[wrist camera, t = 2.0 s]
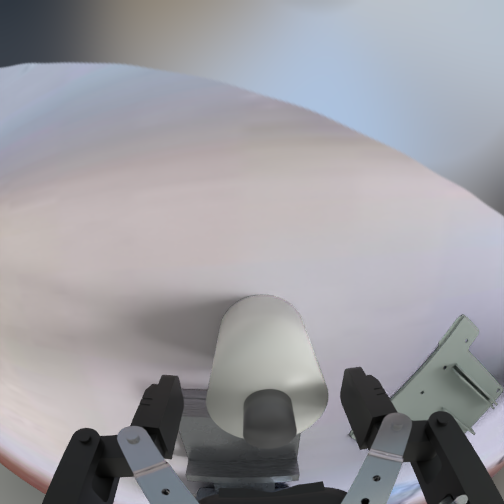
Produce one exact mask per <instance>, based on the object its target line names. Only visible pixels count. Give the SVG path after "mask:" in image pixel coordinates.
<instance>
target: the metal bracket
mask: <svg viewBox="0 0 504 504" xmlns="http://www.w3.org/2000/svg"><path fill="white" fill-rule="evenodd" d="M478 334H479V329H478V328H477V327H476V326H475V325H474V324H473V323H472V322H471V321H470V320H469V319H468V317H466V316H465V315H464V314H463V315H461V316H460V317H458V318H457V319H456V321H455V322H454V323H453V325H452V326H451V327H450V329H449V330H448V331H447V333H446V334H445V335H444V336H443V338H442V339H441V340H440V341H439V346H438V348H437V349H436V350H435V351H434V353H433V354H432V355H431V356H430V357H429V358H428V360H427V361H426V362H425V363H424V364H423V365H422V366H421V368H420V369H419V370H418V371H417V372H416V373H415V374H414V375H413V376H412V377H411V378H410V379H409V381H408V382H407V383H406V384H405V385H404V386H403V387H402V388H401V389H400V390H399V391H398V392H397V393H396V394H395V395H394V396H393V397H392V398H391V399H390V400H391V402H392V403H393V405H394V407H395V408H396V410H397V412H398V413H403V414H405V415H407V416H408V417H409V418H410V419H411V420H413V421H417V420H428V419H429V417H430V415H431V414H432V413H434V412H437V411H445V412H448V413H450V414H451V415H452V416H453V417H454V419H455V420H456V422H457V423H458V425H459V426H460V428H461V429H462V431H463V432H464V434H465V433H466V432H467V431H469V432H471V433H472V434H473V435H475V432H474V431H473V429H472V428H471V427H472V426H473V425H474V424H475V423H476V421H477V420H478V419H479V418H480V417H481V416H482V415H483V414H484V413H485V412H486V411H487V410H488V408H489V407H490V406H491V408H492V409H494V407H493V405H492V404H493V403H494V404H495V405H496V406H497V405H498V404H497V403H496V402H495V400H496V399H497V398H498V397H499V395H500V394H501V393H502V392H503V387H502V386H501V385H500V384H499V383H498V382H497V381H496V380H495V378H494V377H493V376H492V375H491V374H490V373H489V372H488V371H487V370H486V369H485V368H484V367H483V365H482V364H481V363H480V362H479V361H478V360H477V359H476V358H475V357H474V356H473V355H472V354H471V353H470V352H469V347H470V345H471V344H472V342H473V341H474V340H475V338H476V337H477V336H478ZM466 339H467V341H466V342H465V340H466ZM444 366H446V368H445V369H443V368H444ZM497 389H499V390H498V391H497ZM422 391H424V392H423V393H421V392H422ZM496 391H497V392H496ZM350 436H351V437H352V438H353V439H355V440H356V438H355V436H354V433H353V430H352V431H351V432H350Z"/></svg>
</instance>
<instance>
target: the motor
mask: <svg viewBox="0 0 504 504" xmlns="http://www.w3.org/2000/svg"><path fill="white" fill-rule="evenodd" d="M181 390H182V395H183V399H184V409H183V413H182V417H181V422H180V426H179V432H180V435H181V438H182V441H183V444H184V447H185V450H186V453H187V456H188V459H189V460H188V465H187V471H186V477H187V479H188V481H197V482H211V483H213V484H214V487H215V488H200V489H199V490H198V492H197V495H196V494H192V495H193V496H194V498H195V499H196V500H197V501H198V500H200V499H202V498H204V497H207V496H211V495H214V494H219V488H246V489H252V490H258V491H265V492H276V491H279V490H283V489H286V488H290V487H285V488H275V482H287V481H297V480H299V468H298V462H297V455H298V448H299V440H300V433H299V434H296V436H295V438H294V439H293V440H292V441H291V442H289V443H288V444H286V445H284V446H281V447H278V448H271V449H263V448H258V447H254V446H252V445H250V444H248V443H247V442H246V441H245V440H244V439H243V438H239V437H237V436H234V435H232V434H230V433H228V432H226V431H224V430H223V429H221V428H220V427H219V426H218V425H217V424H216V423H215V422H214V421H213V420H212V418H211V417H210V415H209V413H208V410H207V406H206V397H207V391H208V390H193V389H181Z"/></svg>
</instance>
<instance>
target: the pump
mask: <svg viewBox="0 0 504 504" xmlns="http://www.w3.org/2000/svg"><path fill="white" fill-rule="evenodd" d="M327 402H328V389H327V386H326V383H325V380H324V378H323V375H322V372H321V369H320V367H319V364H318V361H317V358H316V356H315V353H314V350H313V347H312V345H311V342H310V339H309V337H308V334H307V331H306V329H305V326H304V323H303V321H302V318H301V316H300V314H299V312H298V311H297V310H296V308H295V307H294V306H293V305H291V304H290V303H289V302H287V301H285V300H284V299H281V298H279V297H276V296H271V295H254V296H250V297H247V298H244V299H242V300H240V301H238V302H237V303H235V304H234V305H233V306H232V307H230V308H229V310H228V311H227V312H226V313H225V315H224V317H223V319H222V321H221V325H220V330H219V335H218V340H217V345H216V350H215V355H214V360H213V365H212V370H211V375H210V380H209V386H208V391H207V397H206V406H207V410H208V413H209V415H210V417H211V418H212V420H213V421H214V422H215V423H216V424H217V425H218V426H219V427H220V428H221V429H223V430H224V431H226V432H228V433H230V434H232V435H234V436H237V437H239V438H243V439H244V440H245V441H246V442H247V443H248V444H250V445H252V446H254V447H258V448H263V449H271V448H278V447H281V446H284V445H286V444H288V443H289V442H291V441H292V440H293V439H294V438H295V436H296V434H299V433H301V432H303V431H304V430H306V429H308V428H309V427H310V426H312V425H313V424H314V423H315V422H316V421H317V420H318V419H319V418H320V417H321V415H322V414H323V412H324V410H325V408H326V406H327Z"/></svg>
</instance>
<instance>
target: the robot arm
mask: <svg viewBox="0 0 504 504" xmlns="http://www.w3.org/2000/svg"><path fill="white" fill-rule="evenodd" d="M340 398H341V403H342V405H343V408H344V410H345V413H346V415H347V418H348V420H349V423H350V425H351V428H352V430H353V433H354V436H355V438H356V441H357V443H358V446H359V448H360V450H362V449H366V448H368V449H369V453H368V455H367V457H366V459H365V461H364V463H363V465H362V467H361V469H360V471H359V473H358V475H357V477H356V478H355V480H354V482H353V484H352V486H351V487H350V489H349V491H348V493H347V492H345V491H342V490H339V489H335V488H329V487H324V484H323V481H322V482H316V483H309V484H301V485H296V486H293V487H290V488H286V489H283V490H279V491H276V492H265V491H258V490H252V489H246V488H219V494H214V495H211V496H207V497H204V498H202V499H200V500H198V501H197V500H196V499H195V498H194V496H193V495H192V494H191V493H190V491H189V490H188V489H187V488H186V486H185V485H184V484H183V482H182V481H181V480H180V478H179V477H178V476H177V474H176V473H175V471H174V470H173V469H172V467H171V466H170V464H169V463H168V462H166V461H165V460H164V458H165V459H172V455H173V451H174V446H175V442H176V438H177V434H178V430H179V426H180V422H181V417H182V413H183V409H184V399H183V395H182V390H181V386H180V381H179V377H178V376H173V375H162V376H161V379H160V381H159V384H152V385H151V386H150V387H148V388H147V389H146V390H145V392H144V395H143V397H142V399H141V402H140V405H139V406H138V409H137V411H136V413H135V416H134V418H133V420H132V423H131V425H130V426H129V427H126V428H124V429H122V430H121V431H120V432H119V433H118V435H113V436H99V434H98V432H97V431H95V430H93V429H91V428H83V429H80V430H78V431H76V432H75V433H74V434H73V436H72V438H71V440H70V442H69V444H68V446H67V448H66V450H65V452H64V454H63V457H62V459H61V461H60V463H59V465H58V467H57V470H56V472H55V474H54V476H53V479H52V481H51V483H50V486H49V488H48V490H47V493H46V495H45V498H44V500H43V503H42V504H113V502H114V498H115V494H116V490H117V486H118V483H119V479H120V477H133V476H134V477H135V478H136V480H137V482H138V484H139V486H140V487H141V489H142V491H143V493H144V494H145V496H146V498H147V499H148V501H149V502H150V504H386V503H387V500H388V498H389V496H390V493H391V491H392V489H393V486H394V484H395V481H396V479H397V476H398V474H399V471H400V468H401V465H402V463H403V462H411V465H412V467H413V470H414V472H415V474H416V477H417V479H418V482H419V484H420V487H421V489H422V492H423V494H424V497H425V499H426V502H427V504H504V501H503V499H502V497H501V495H500V493H499V491H498V490H497V488H496V486H495V484H494V482H493V480H492V479H491V477H490V475H489V473H488V472H487V470H486V468H485V466H484V465H483V463H482V461H481V460H480V458H479V456H478V455H477V453H476V451H475V450H474V448H473V447H472V445H471V443H470V442H469V440H468V439H467V437H466V435H465V434H464V432H463V431H462V429H461V428H460V426H459V425H458V423H457V422H456V420H455V419H454V417H453V416H452V415H451V414H450V413H448V412H445V411H437V412H434V413H432V414H431V415H430V417H429V419H428V420H417V421H413V420H411V419H410V418H409V417H408V416H407V415H405V414H403V413H398V412H397V410H396V408H395V407H394V405H393V403H392V402H391V400H390V398H389V397H388V395H387V394H386V392H385V390H384V389H383V388H382V385H381V384H380V382H379V381H378V380H377V379H376V378H375V377H373V376H372V375H367V376H366V374H365V373H364V371H363V369H362V368H361V367H355V368H348V369H345V371H344V376H343V382H342V387H341V392H340Z"/></svg>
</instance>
